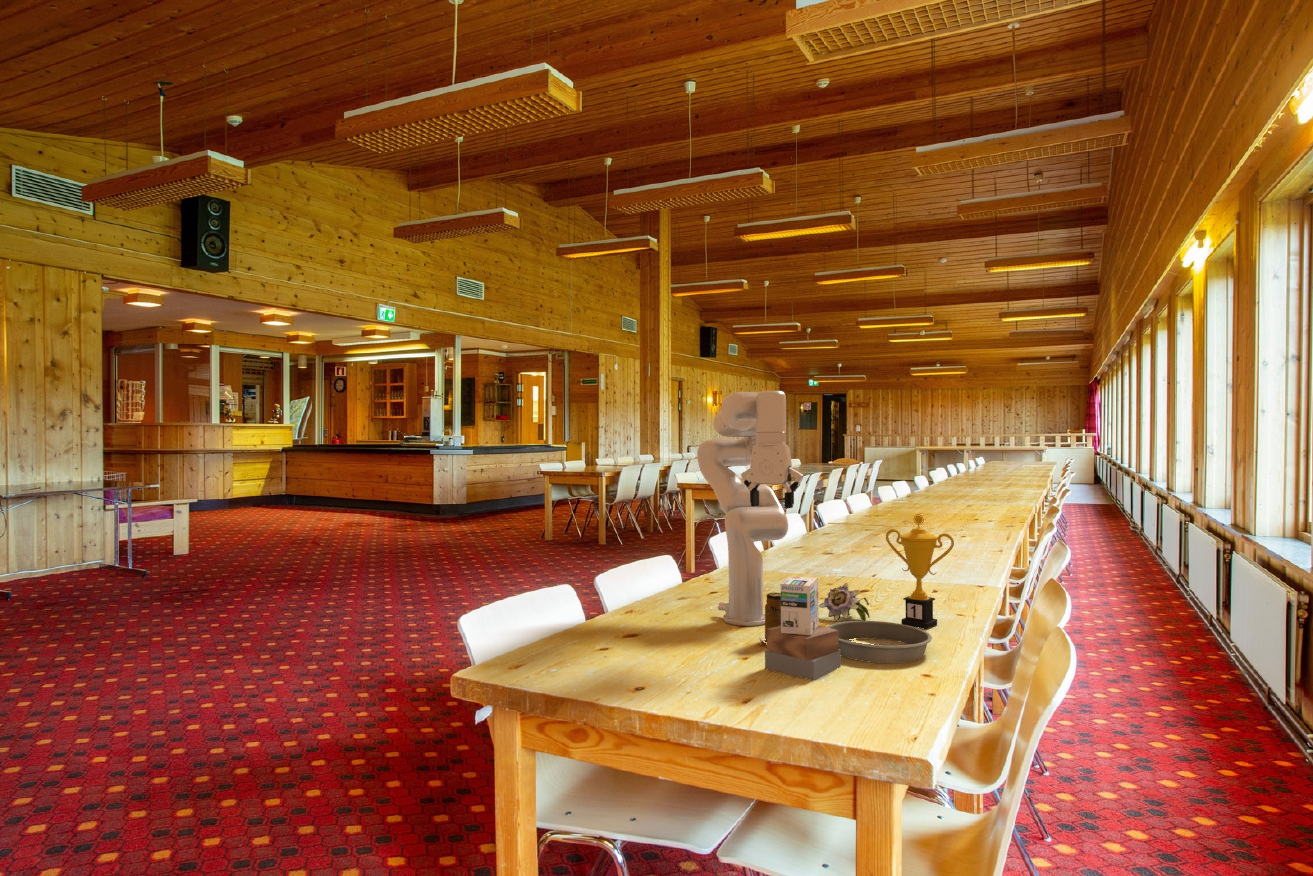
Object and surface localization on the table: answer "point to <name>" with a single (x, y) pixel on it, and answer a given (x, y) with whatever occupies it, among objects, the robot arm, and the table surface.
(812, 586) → the light bulb box
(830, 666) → the grey block
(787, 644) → the walnut block
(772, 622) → the condiment
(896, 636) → the cake pan
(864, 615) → the passion flower
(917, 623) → the trophy
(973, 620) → the table surface
